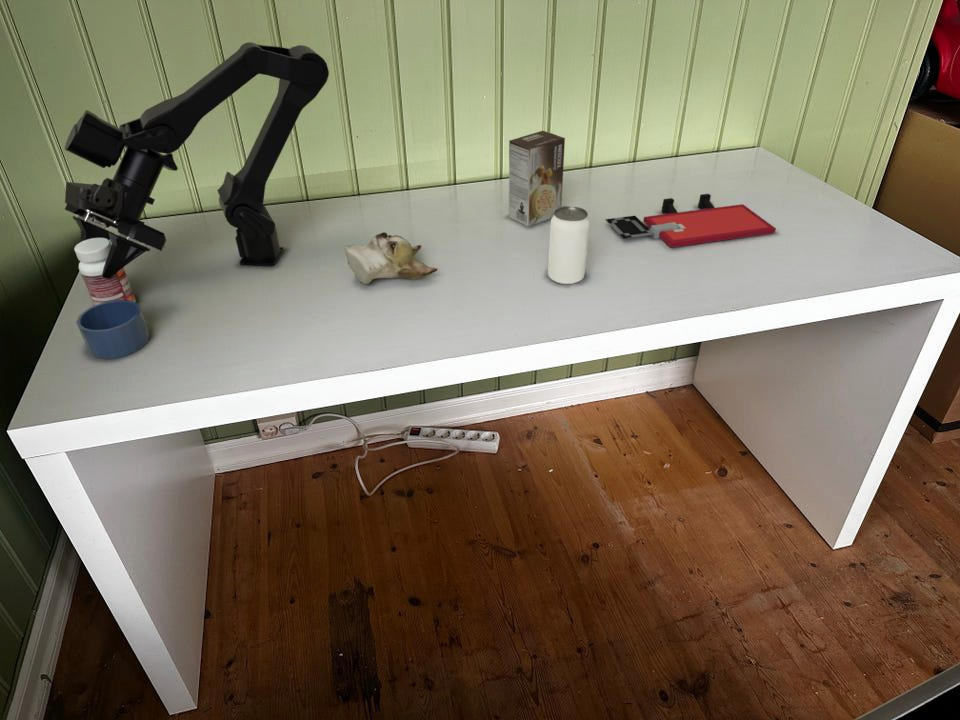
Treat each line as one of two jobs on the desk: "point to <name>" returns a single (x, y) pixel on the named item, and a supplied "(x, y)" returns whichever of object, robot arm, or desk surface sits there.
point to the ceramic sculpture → (385, 259)
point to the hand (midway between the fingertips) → (93, 272)
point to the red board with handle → (694, 224)
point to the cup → (113, 329)
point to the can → (568, 245)
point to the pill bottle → (92, 268)
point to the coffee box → (535, 177)
